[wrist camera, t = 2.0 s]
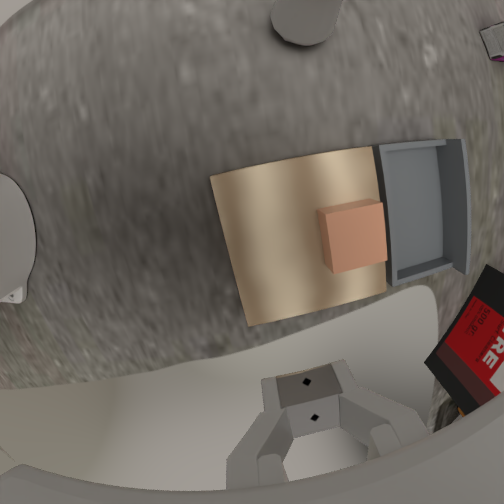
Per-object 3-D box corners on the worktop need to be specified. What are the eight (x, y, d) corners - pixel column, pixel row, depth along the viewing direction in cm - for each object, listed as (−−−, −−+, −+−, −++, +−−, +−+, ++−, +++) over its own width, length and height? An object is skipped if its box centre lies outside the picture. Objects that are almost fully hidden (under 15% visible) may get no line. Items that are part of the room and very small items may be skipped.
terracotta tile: (325, 263, 25) (333, 274, 23) (316, 209, 24) (325, 214, 22) (375, 251, 25) (387, 260, 23) (369, 198, 24) (382, 202, 22)
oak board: (247, 311, 30) (248, 326, 27) (212, 175, 26) (209, 176, 23) (374, 280, 30) (386, 291, 27) (358, 147, 25) (371, 146, 22)
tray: (382, 277, 30) (404, 297, 25) (367, 146, 25) (392, 144, 21) (443, 258, 29) (469, 273, 25) (435, 139, 25) (464, 138, 20)
